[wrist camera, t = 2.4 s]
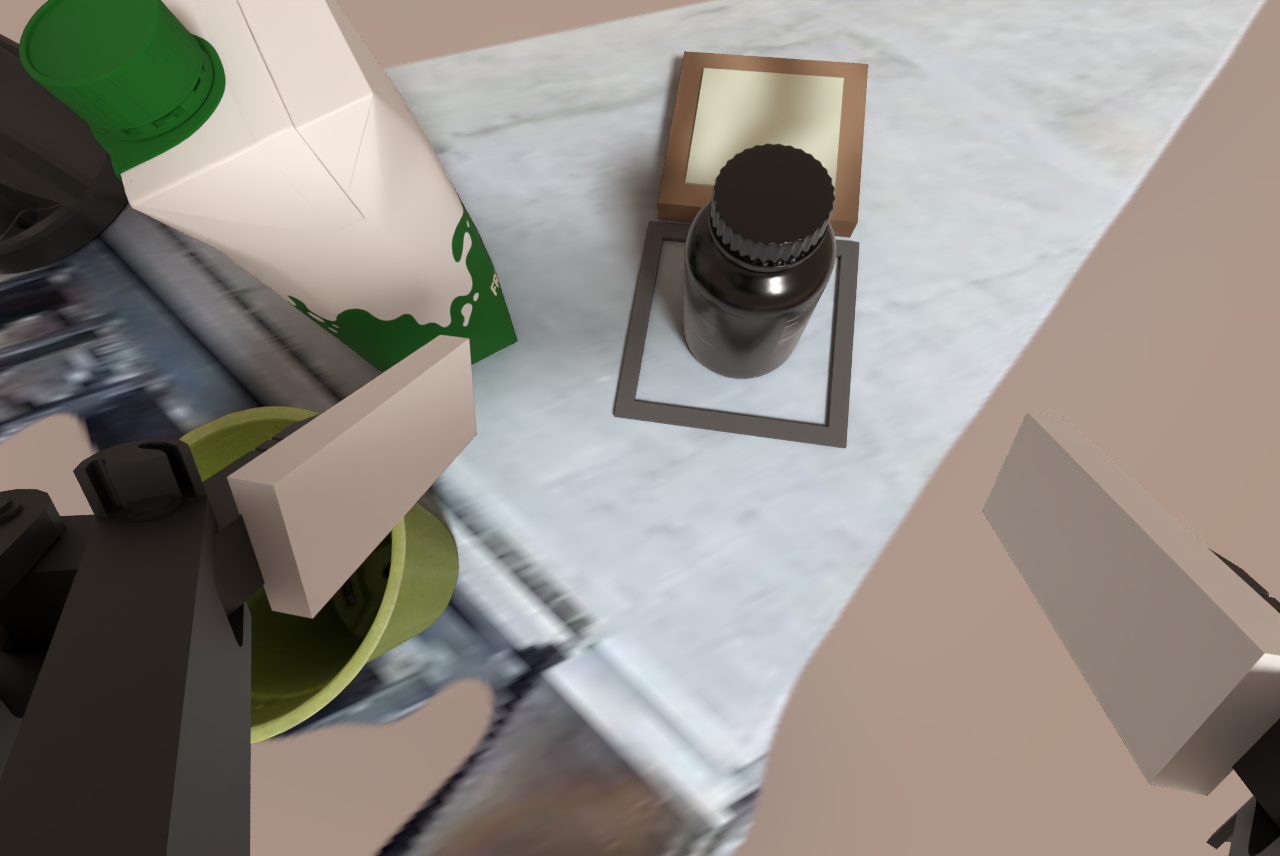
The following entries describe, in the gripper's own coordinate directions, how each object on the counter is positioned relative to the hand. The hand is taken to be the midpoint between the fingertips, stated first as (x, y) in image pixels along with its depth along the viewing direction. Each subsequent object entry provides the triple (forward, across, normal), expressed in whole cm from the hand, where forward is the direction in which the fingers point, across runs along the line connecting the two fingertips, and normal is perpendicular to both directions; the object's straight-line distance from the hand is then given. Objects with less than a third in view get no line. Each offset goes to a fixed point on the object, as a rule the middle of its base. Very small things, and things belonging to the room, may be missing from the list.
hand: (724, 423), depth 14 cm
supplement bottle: (+21, +1, -4) cm, 21 cm away
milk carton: (+19, -17, -6) cm, 26 cm away
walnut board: (+30, +1, +5) cm, 30 cm away
